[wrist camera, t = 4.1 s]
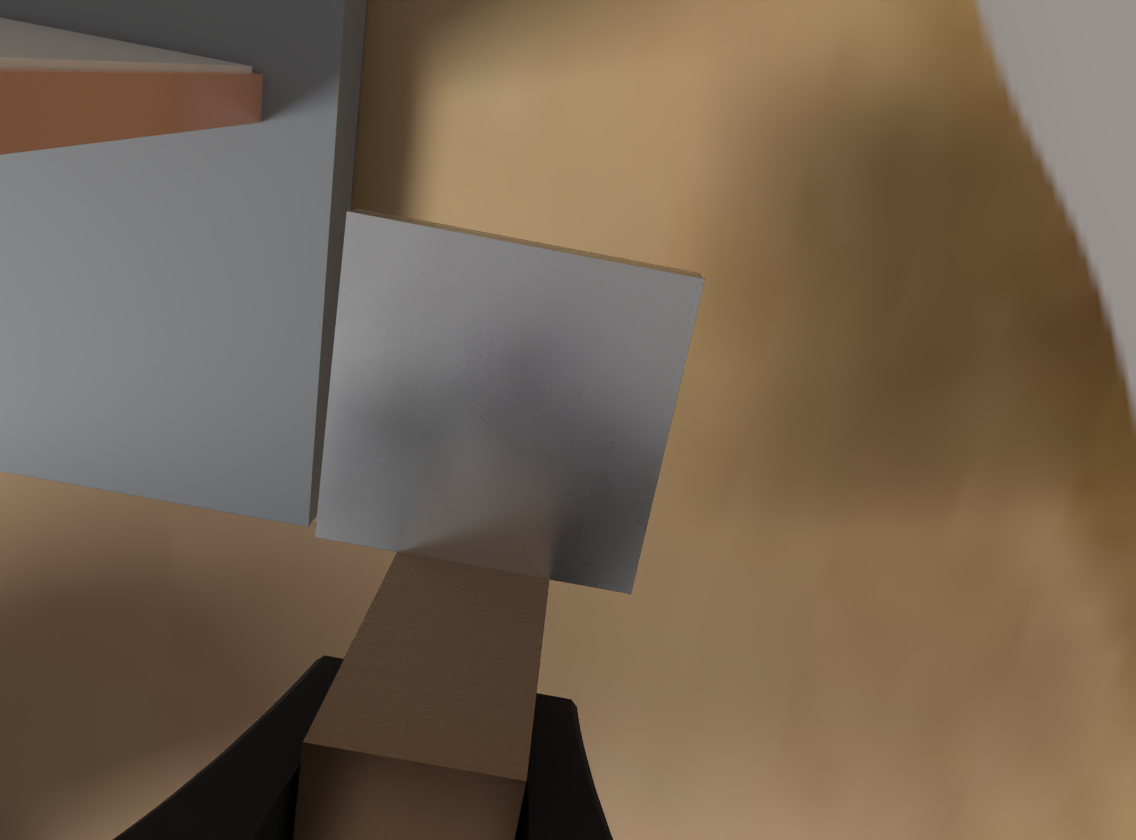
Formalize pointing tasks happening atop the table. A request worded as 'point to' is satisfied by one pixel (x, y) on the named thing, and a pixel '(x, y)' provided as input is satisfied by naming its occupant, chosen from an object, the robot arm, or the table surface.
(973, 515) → the table surface
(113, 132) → the tile
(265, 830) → the robot arm
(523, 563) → the turner
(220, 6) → the board
